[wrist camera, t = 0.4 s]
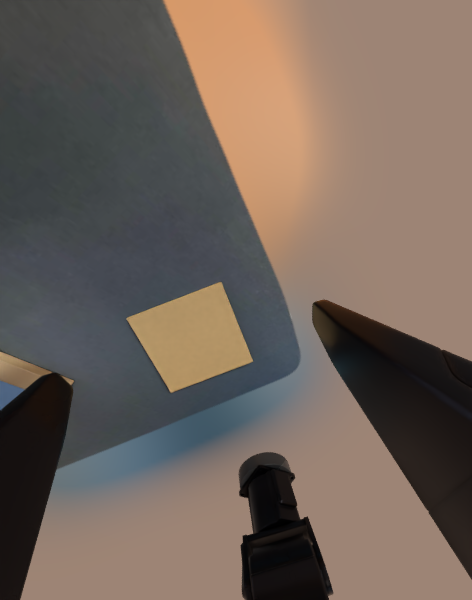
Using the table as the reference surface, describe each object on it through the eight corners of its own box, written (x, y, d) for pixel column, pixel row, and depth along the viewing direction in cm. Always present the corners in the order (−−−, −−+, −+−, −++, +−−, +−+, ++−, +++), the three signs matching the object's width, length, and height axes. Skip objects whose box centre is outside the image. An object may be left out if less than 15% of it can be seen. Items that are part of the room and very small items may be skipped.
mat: (252, 360, 26) (253, 361, 26) (171, 391, 26) (171, 392, 26) (220, 281, 22) (221, 282, 22) (127, 317, 23) (126, 318, 22)
